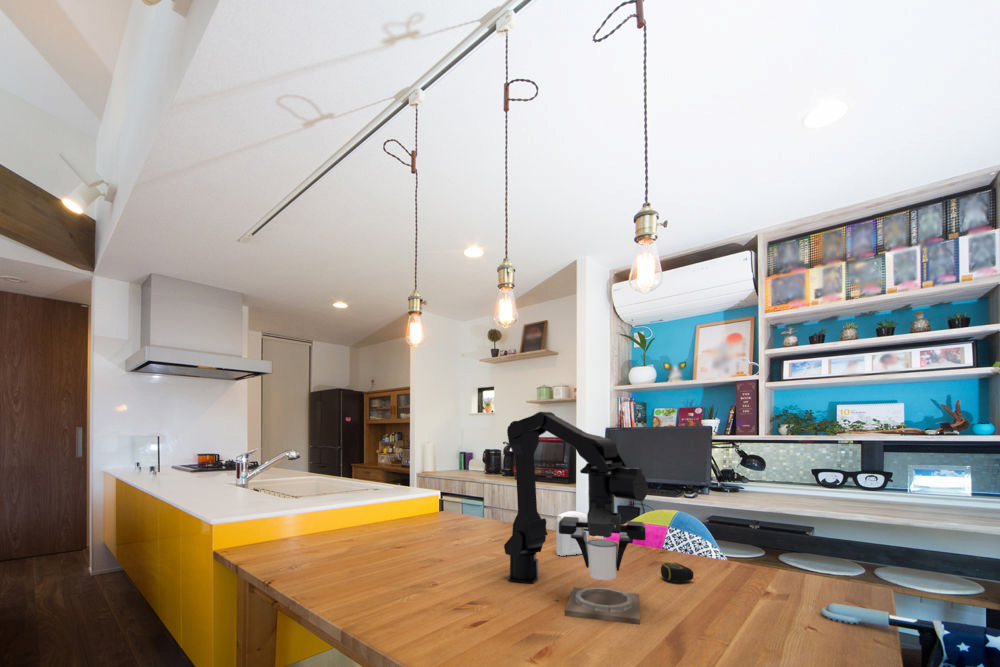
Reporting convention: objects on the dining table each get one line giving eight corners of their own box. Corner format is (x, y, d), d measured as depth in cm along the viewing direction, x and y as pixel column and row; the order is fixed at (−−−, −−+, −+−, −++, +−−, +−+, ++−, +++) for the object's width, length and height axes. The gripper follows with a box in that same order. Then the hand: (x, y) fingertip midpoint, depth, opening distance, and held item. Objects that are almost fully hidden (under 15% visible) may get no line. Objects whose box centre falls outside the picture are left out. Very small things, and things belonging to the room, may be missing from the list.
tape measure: (695, 584, 124) (694, 568, 124) (672, 586, 122) (671, 570, 122) (677, 575, 130) (677, 560, 131) (655, 577, 128) (655, 562, 129)
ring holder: (564, 615, 102) (564, 605, 103) (573, 591, 116) (573, 582, 117) (639, 624, 98) (639, 613, 99) (639, 598, 112) (639, 589, 113)
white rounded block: (582, 550, 153) (581, 509, 156) (590, 554, 150) (589, 511, 152) (553, 553, 149) (553, 511, 151) (561, 557, 145) (560, 513, 148)
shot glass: (583, 571, 112) (583, 538, 113) (613, 571, 112) (612, 538, 113) (591, 581, 105) (591, 546, 106) (623, 581, 105) (622, 546, 107)
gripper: (554, 498, 106) (555, 575, 104) (644, 503, 101) (647, 584, 99) (562, 491, 117) (562, 561, 114) (643, 495, 112) (646, 568, 109)
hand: (602, 568), depth 109 cm, fingers closed on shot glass, 6 cm apart
